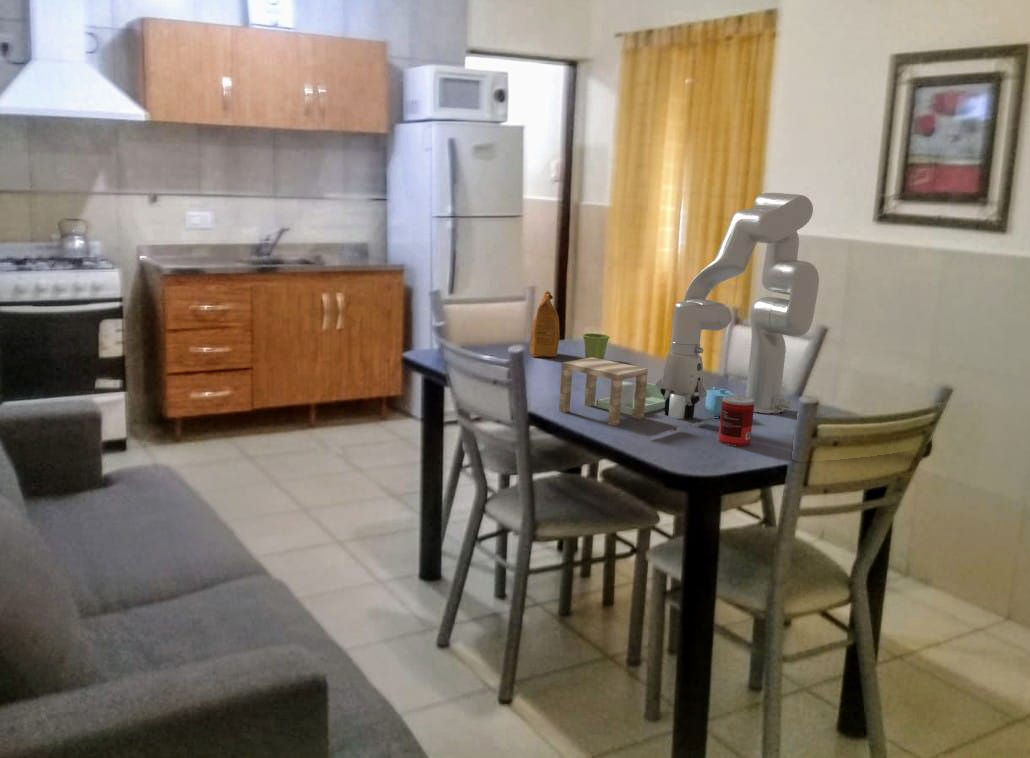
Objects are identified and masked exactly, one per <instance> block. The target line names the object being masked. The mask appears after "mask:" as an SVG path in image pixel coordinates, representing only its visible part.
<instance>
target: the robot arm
mask: <svg viewBox="0 0 1030 758" xmlns="http://www.w3.org/2000/svg"><path fill="white" fill-rule="evenodd" d="M813 212H814V206H813V203H812V201H811V200H810V199H809V198H808V197H807V196H806V195H803V194H796V193H783V192H781V193H780V192H765V193H761V194H759V195H757V197H756V198H754V201H753V208H743V209H739V210H737V211H736V212H735V213H734V214H733V216H732V217H731V220H730V221H729V223H728V226H727V229H726V231H725V233H724V236H723V238H722V241H721V242H720V245H719V248H718V251H717V252H716V256H715V257H714V259H713V260H712V261H711V262H710V263H708V265H706V266H705V267H704V268H703V269H701V270H700V272H699V273H697V275H695V277H694V278H693V279H692V280H691V282H689V285H688V287H687V289H686V292H685V294H684V297H683V298H682V301H678V302H676V303H675V304H674V306H673V311H672V313H673V314H672V321H671V324H672V325H671V337H670V346H669V347H670V349H669V352H667V354H666V358H665V362H664V366H663V372H662V377H661V378H660V379H659V380H658V381H657V382H656V383H655V384H656V386H657V387H658V389H659V390H660V392H661V394H662V395H663V398H664V400H665V408H664V415H665V416H668V414H669V403H670V393H671V392H680V393H684V394H686V398H687V403H688V405H686V406H685V416H684V419H683V420H686V421H687V420H691V419H694V418H693V417H694V416H695V407H696V406H695V405H697V404H698V402H700V401H701V400H702V399H704V398H706V395H707V390H706V389H705V388H704V385H703V384H704V364H703V362H704V361H703V357H702V356H701V355H700V354H703V353H704V348H703V347H701V337H702V336H701V335H702V330H705V331H712V332H713V331H715V332H717V331H722V330H724V329H725V328H727V327H728V326H729V325H730V323H731V321H732V317H733V316H732V310H731V309H730V308H729V307H728V306H727V305H726V304H724V303H722V302H718V301H715V300H710V299H707V298H708V296H709V294H710V292H711V291H712V290H713V289H714V288H715V287H717V286H718V285H719V284H721V283H723V282H725V281H727V280H730V279H732V278H735V277H737V276H740V275H743V273H744V272H745V271H746V269H747V267H748V265H749V261H750V259H751V257H752V255H753V252H754V251H755V247H756V246H757V243H760V244H766V247H765V248H766V249H765V254H764V255H765V256H764V262H763V268H762V273H761V274H762V276H761V283H762V286H763V288H764V289H766V290H767V291H769V292H772V293H777V294H780V295H781V294H783V295H787V296H788V295H789V299H787V298H781V297H775V296H763V297H760V298H758V299H756V300H755V302H754V303H753V304H752V306H751V309H750V315H749V316H750V318H749V319H750V327H751V341H750V351H749V361H748V370H747V379H746V380H747V381H746V389H745V390H746V391H745V397H749V398H752V399H753V400H754V412H753V413H758V412H759V414H771V413H773V414H780V412H782V413H784V412H785V410H786V409H788V410H791V409H793V406H794V405H793V403H794V402H793V401H792V400H786V399H785V394H782V386H783V377H784V370H785V369H784V368H785V359H786V353H787V346H786V341H785V338H784V336H788V337H795V338H800V337H803V336H804V335H806V334H807V333H808V332H809V330H810V329H811V327H812V324H813V322H814V321H813V319H814V315H815V311H816V304H817V297H818V293H819V285H820V275H819V272H818V270H817V268H816V266H815V265H814V264H813V263H811V262H808V261H806V260H805V261H803V260H798V257H799V256H798V254H799V245H800V238H799V233H798V230H800V229H802V228H804V227H805V226H806V225H807V224H808V223H809V222H810V220H812V216H813V214H814V213H813ZM696 393H698V394H697V395H696ZM783 411H784V412H783Z"/></svg>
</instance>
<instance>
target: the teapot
mask: <svg viewBox="0 0 1030 758" xmlns="http://www.w3.org/2000/svg"><path fill="white" fill-rule="evenodd" d="M706 393H707V395H706V396H705V405H704V406H705V407H704V410H705V411H706V412H708V413H710V414H711V415H713V417H719V418H720V417H721V407H722V399H723V397H724V396H727V395H736V394H735V393H733V392H731V391H730V390H728V389H724V388H719V389H717V388H716V387H715V386H712V389H706Z"/></svg>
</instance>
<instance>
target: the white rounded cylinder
mask: <svg viewBox="0 0 1030 758" xmlns="http://www.w3.org/2000/svg"><path fill="white" fill-rule="evenodd" d="M635 387H636V383H634V382H630V381H623V382H622V394H621V406H626V407H630V408H633V404H634V391H635Z"/></svg>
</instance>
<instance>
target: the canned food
mask: <svg viewBox="0 0 1030 758" xmlns="http://www.w3.org/2000/svg"><path fill="white" fill-rule="evenodd" d="M754 413H755V412H754V400H753V399H752V398H749V397H746V395H745V396H744V395H737V394H735V395H727V396H724V397H723V399H722V407H721V416H720V417H719V418H720V419H719V429H718V440H719V442H720V443H721V442H722V443H721V444H723V443H725V444H729V445H728V446H730V445H736V446H735V447H746V446H745V445H747V446H749V444H750V442H751V437H752V429H753V427H752V426H753V419H754ZM725 444H724V445H725Z"/></svg>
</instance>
